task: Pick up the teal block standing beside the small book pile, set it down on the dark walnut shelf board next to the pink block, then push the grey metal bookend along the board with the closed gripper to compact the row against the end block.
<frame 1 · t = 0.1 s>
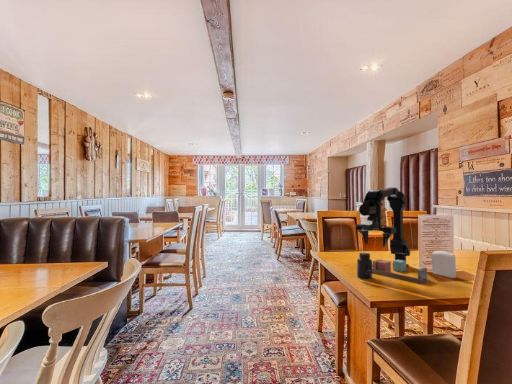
hand: (375, 245, 143), 15 cm above the table, fingers open, 9 cm apart
photo printer: (443, 276, 139), on the table
bookend: (423, 275, 130), point 3 cm above the table, slide at 0.0 cm
teal block: (399, 271, 148), on the table
pink block: (384, 272, 144), point 1 cm above the table, touching shelf board
supplement bottle: (364, 278, 136), on the table
shelf board: (400, 277, 138), on the table
lying grey book: (377, 267, 158), on the table
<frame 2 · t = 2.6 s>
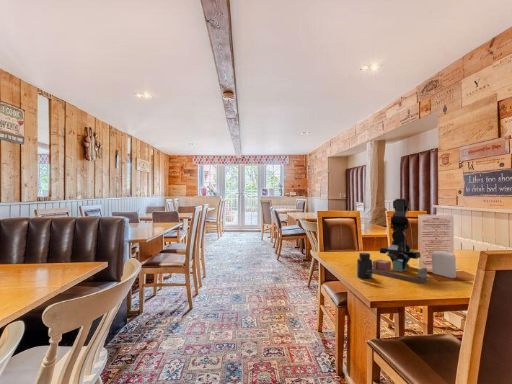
hand: (399, 268, 149), 1 cm above the table, fingers closed on teal block, 4 cm apart
teal block: (399, 271, 148), on the table, touching gripper
everything else where it was.
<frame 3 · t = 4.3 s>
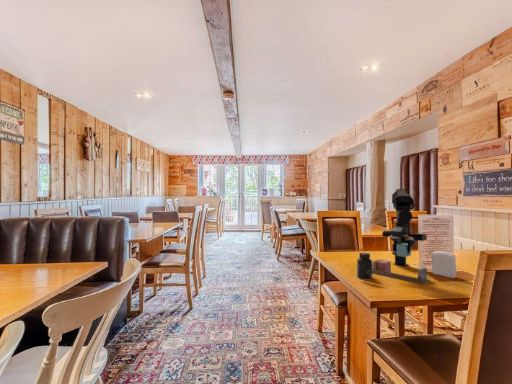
hand: (403, 253, 137), 12 cm above the table, fingers closed on teal block, 4 cm apart
teal block: (403, 255, 137), point 11 cm above the table, touching gripper
everything else where it was.
when the fingers open (3 cm above the table, at t = 6.0 s): teal block drops 1 cm, resting on shelf board.
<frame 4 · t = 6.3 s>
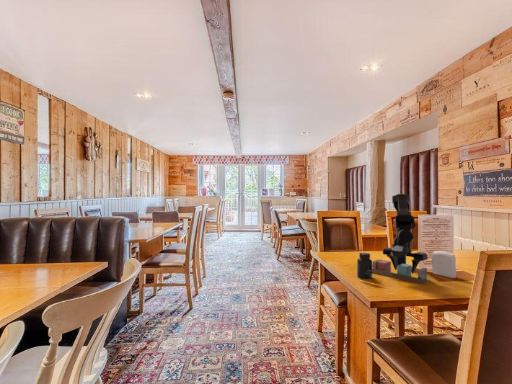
hand: (404, 271, 137), 3 cm above the table, fingers open, 8 cm apart
teal block: (404, 276, 136), point 1 cm above the table, touching shelf board
everything else where it was.
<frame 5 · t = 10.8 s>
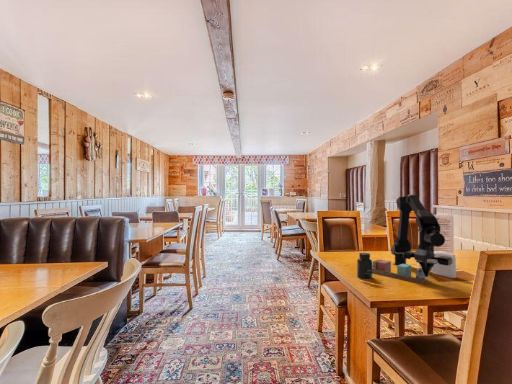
hand: (426, 276, 129), 3 cm above the table, fingers closed
bookend: (421, 274, 130), point 3 cm above the table, slide at 0.8 cm, touching gripper
everything else where it was.
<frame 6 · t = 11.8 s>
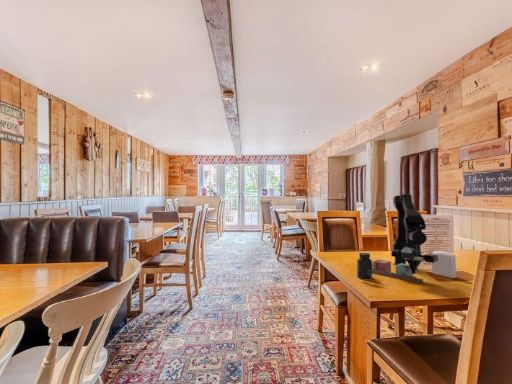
hand: (413, 273, 133), 3 cm above the table, fingers closed
bookend: (409, 272, 135), point 3 cm above the table, slide at 6.3 cm, touching gripper, teal block
teal block: (402, 276, 137), point 1 cm above the table, touching bookend
everything else where it was.
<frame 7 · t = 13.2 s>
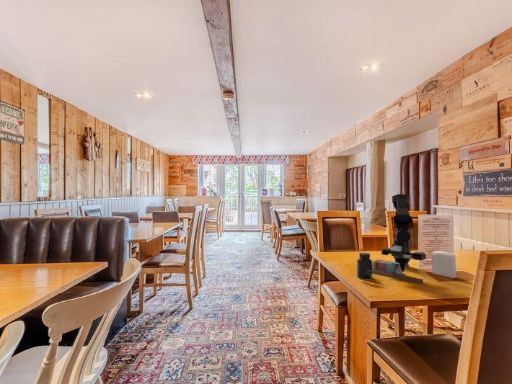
hand: (403, 271, 137), 3 cm above the table, fingers closed
bookend: (399, 270, 138), point 3 cm above the table, slide at 11.0 cm, touching gripper, teal block
teal block: (392, 274, 141), point 1 cm above the table, touching bookend, shelf board
everything else where it was.
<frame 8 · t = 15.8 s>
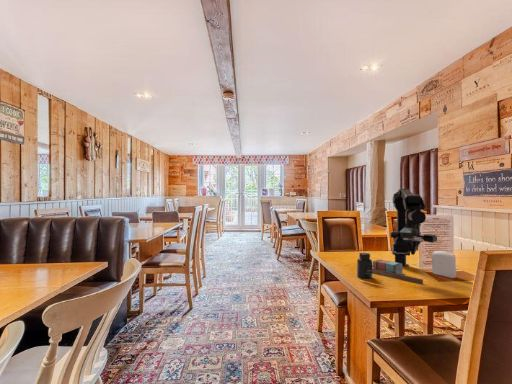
hand: (412, 254, 133), 12 cm above the table, fingers closed
bookend: (399, 269, 138), point 3 cm above the table, slide at 11.1 cm, touching teal block
everything else where it was.
at the end: teal block inside the target area (0.4 cm from its centre), point 0.6 cm above the table; teal block tilted 0°; bookend slide at 11.1 cm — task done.
